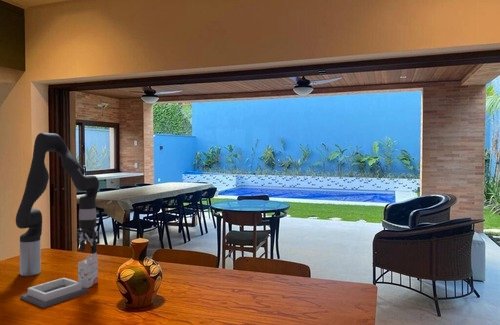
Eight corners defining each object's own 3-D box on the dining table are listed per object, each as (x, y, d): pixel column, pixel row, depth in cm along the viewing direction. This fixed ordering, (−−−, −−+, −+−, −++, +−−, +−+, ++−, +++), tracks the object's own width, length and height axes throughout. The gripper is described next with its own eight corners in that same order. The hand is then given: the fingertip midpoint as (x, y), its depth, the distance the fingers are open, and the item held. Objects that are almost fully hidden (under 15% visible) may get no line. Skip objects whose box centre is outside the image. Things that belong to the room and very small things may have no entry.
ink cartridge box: (89, 281, 182) (88, 251, 181) (98, 282, 181) (98, 252, 180) (77, 287, 173) (77, 256, 173) (87, 288, 172) (86, 256, 172)
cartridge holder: (20, 298, 160) (20, 288, 160) (65, 284, 177) (65, 275, 176) (43, 308, 150) (43, 297, 150) (88, 292, 167) (88, 282, 167)
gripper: (71, 217, 177) (71, 251, 177) (89, 220, 169) (90, 256, 169) (85, 215, 183) (86, 248, 183) (104, 218, 176) (104, 252, 176)
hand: (88, 252), depth 176 cm, fingers open, 8 cm apart
